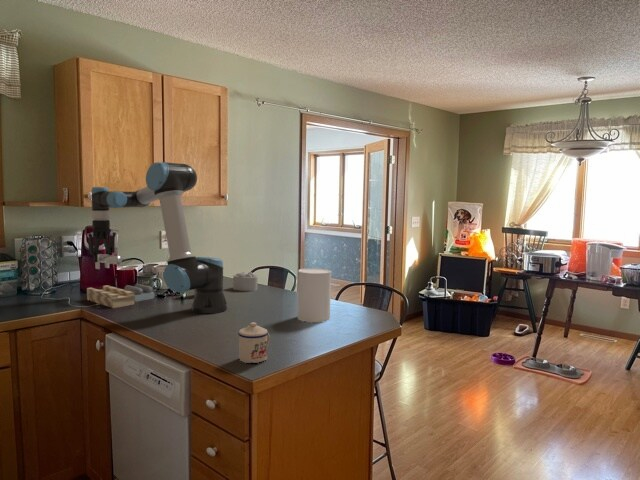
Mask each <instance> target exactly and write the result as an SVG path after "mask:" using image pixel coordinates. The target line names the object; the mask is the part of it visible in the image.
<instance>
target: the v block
mask: <svg viewBox="0 0 640 480" xmlns="http://www.w3.org/2000/svg"><path fill="white" fill-rule="evenodd" d="M123 290H127V291H131V292H134V303H135V302H142V301H147V300H153V299H155V292H154V291H153V290H154V289H153V287H152V286H149V285H146V284H142V283H141V284H140V283H135V285H128V284H126V285H125V286H124V289H123Z"/></svg>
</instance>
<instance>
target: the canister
mask: <svg viewBox="0 0 640 480" xmlns="http://www.w3.org/2000/svg"><path fill="white" fill-rule="evenodd" d="M297 280H298V281H297V320H298V321H300V320H301V321H300V322H304V321H306V323H312V322H317V323H323V322H322V321H325V322H328V321H329V319H330V320H331V289H332V288H331V285H332V284H331V283H332V271H331V270H330V269H326V268H320V267H319V268H317V267H312V268H311V267H308V268H305V267H304V268H300V269H298V272H297ZM327 320H328V321H327Z"/></svg>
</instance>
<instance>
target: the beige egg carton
mask: <svg viewBox="0 0 640 480" xmlns="http://www.w3.org/2000/svg"><path fill="white" fill-rule="evenodd" d="M86 300H87V301H89V300H90V301H89V302H93V303H97V304H99V305H101V306H106V307H109V308H111V309H116V308H121V307H127V306H132V305H135V302H134V292H131V291H127V290H125V289H123V288H119V287H115V286H111V285H107V284H106V285H102V288H101V289H98V288H94V287H87V288H86Z"/></svg>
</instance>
